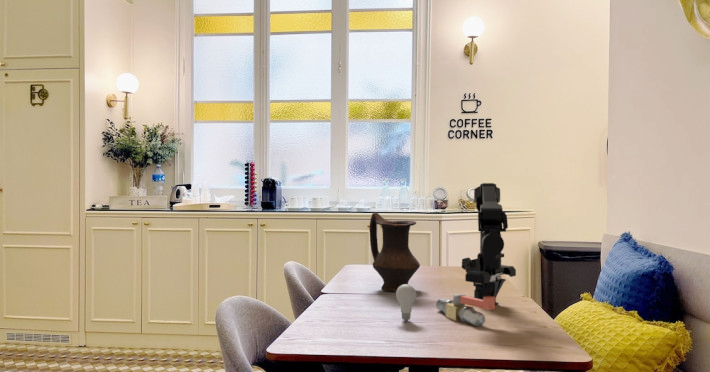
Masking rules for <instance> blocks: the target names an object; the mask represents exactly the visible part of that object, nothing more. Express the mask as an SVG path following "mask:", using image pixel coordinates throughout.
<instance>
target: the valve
mask: <svg viewBox="0 0 710 372" xmlns="http://www.w3.org/2000/svg"><path fill="white" fill-rule="evenodd" d="M435 308H436V309H437V310H438V311H439V312H443V314H444V315H445V318H448V319H450V320H452V321H454V322H462V323H463V324H466V323H468V324H470V325H472V326H475V327H482V326H483V325H484V324H485V322H486V316H485V314H484V313H483V312H481V311H476V309H475V308H474V306H470V305H466V304H465V305H454V304H453V299H446V298H442V297H441V298H439V299H438V300H437V301H436V304H435Z"/></svg>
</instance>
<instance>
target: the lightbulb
mask: <svg viewBox="0 0 710 372" xmlns="http://www.w3.org/2000/svg"><path fill="white" fill-rule="evenodd" d="M395 297H396V300H397V302H398V305H399V306H400V307H399V308H400V312H401V319H402V320H403V321H405V322H408V321H410V320H411V315H412V314H411V313H412V309H413V305H414V303H415V301H416V298H417V290H416V289H415V287H414V286H413V285H411V284H409V283H408V284H403V285H401V286H400V287H399V288H398V289H397V291H396V292H395Z"/></svg>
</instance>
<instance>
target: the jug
mask: <svg viewBox="0 0 710 372" xmlns="http://www.w3.org/2000/svg"><path fill="white" fill-rule="evenodd" d="M416 224H417V221H415V220H389V219H385V218H384V217H382V216H381V215H380V214H379V213H378V212H373V213H372V214H371V218H370V220H369V241H370V242H369V243H370V250H371V254H372V258H373V262H372V267H373V269H374V270H375V271H376V272H377V274H378V275H379V277H381V278H382V281H383V284H382V286H381V290H382V291H383V292H391V293H396V291H397V289H398V288H399V287H400V286H401V285H403V284H408V285H409V282H410V280H411V278H412V277H413V276H414V274H415V273H416V272H417V271H418V270H419V269H420V267H421V266H420V265H421V264H420V262H419V261H418V260H417V258H416V257H415V256H414V254H413V253H412V252H411V249H410V247H409V243H410V242H409V236H410V235H409V233H410V229H411V226H415V225H416ZM377 225H378V226H380V227H381V229H382V230H381V231H382V248H381V250H380V251H379V247H378V236H377V232H378V231H377V229H378V228H377V227H378V226H377Z"/></svg>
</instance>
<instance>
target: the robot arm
mask: <svg viewBox="0 0 710 372" xmlns="http://www.w3.org/2000/svg"><path fill="white" fill-rule="evenodd" d="M473 203H475V207H476V210H477V226H478V229H477V231H478V232H480V233H479V234H480V236H479V238H480V239H479V241H480V242H479V243H480V244H479V251H480V252H478V254H477V255H476V256H477V258H473V259H471V258H470V257H465V258H464V257H463V258H462V259H461V268H462V269H463V270H465V276H464V277H465V280H464V281H465V282H468V283H469V282H470V283H472V285H473V287H475V289H474V293H473V294H474V295H473V298H477V299H482V300H483V297H485V296H493V297H495V305H499V302H497V297H498V294H499V292H500V291H501V288H502V287H503V285H504V283H505V282H506V278H502V276H501V275H506V276H509V277H510V278H512V277H516V275H517V273H516V272H517V270H516V268H515V267H514V265H506V264H505V265H504V264H502V259H503V258H505V253H502V251H503V250H504V249H505V242H504V238H503V237H502V233H501V232H505V233H506V232H507V230H508V228H509V227H508V226H509V225H508V215H507V214H506V211H505V210H504V211H503V206H502V204H501V189H500V188H499V187H497V183H493V182H482V183H480V184H479V186H477V187H475V188H474V191H473Z"/></svg>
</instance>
